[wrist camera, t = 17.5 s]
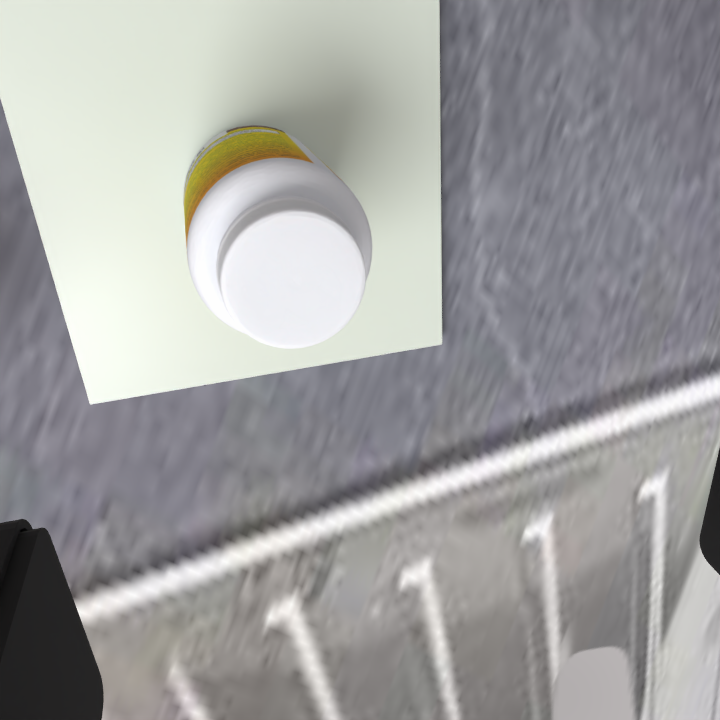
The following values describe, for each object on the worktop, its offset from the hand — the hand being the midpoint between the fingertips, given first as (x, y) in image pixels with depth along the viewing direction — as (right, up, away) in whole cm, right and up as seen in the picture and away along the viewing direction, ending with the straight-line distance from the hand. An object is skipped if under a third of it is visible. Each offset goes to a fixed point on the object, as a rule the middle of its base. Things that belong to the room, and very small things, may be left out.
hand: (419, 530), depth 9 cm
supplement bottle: (-5, +9, +18) cm, 21 cm away
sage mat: (-5, +9, +18) cm, 21 cm away
